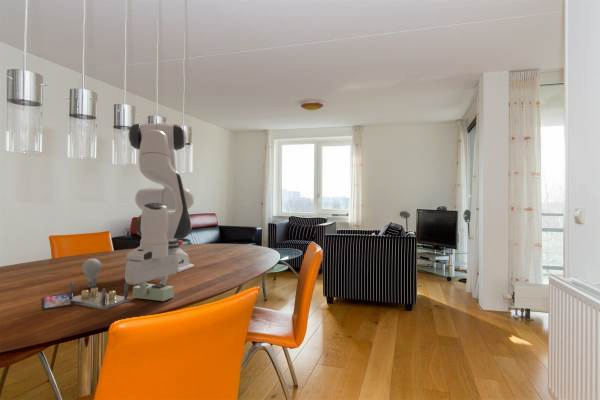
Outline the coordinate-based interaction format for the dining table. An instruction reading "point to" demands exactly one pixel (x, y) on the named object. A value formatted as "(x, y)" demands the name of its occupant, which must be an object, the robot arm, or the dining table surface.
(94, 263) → the lightbulb
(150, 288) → the green block with holes
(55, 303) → the smartphone
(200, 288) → the dining table surface
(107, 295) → the chassis
